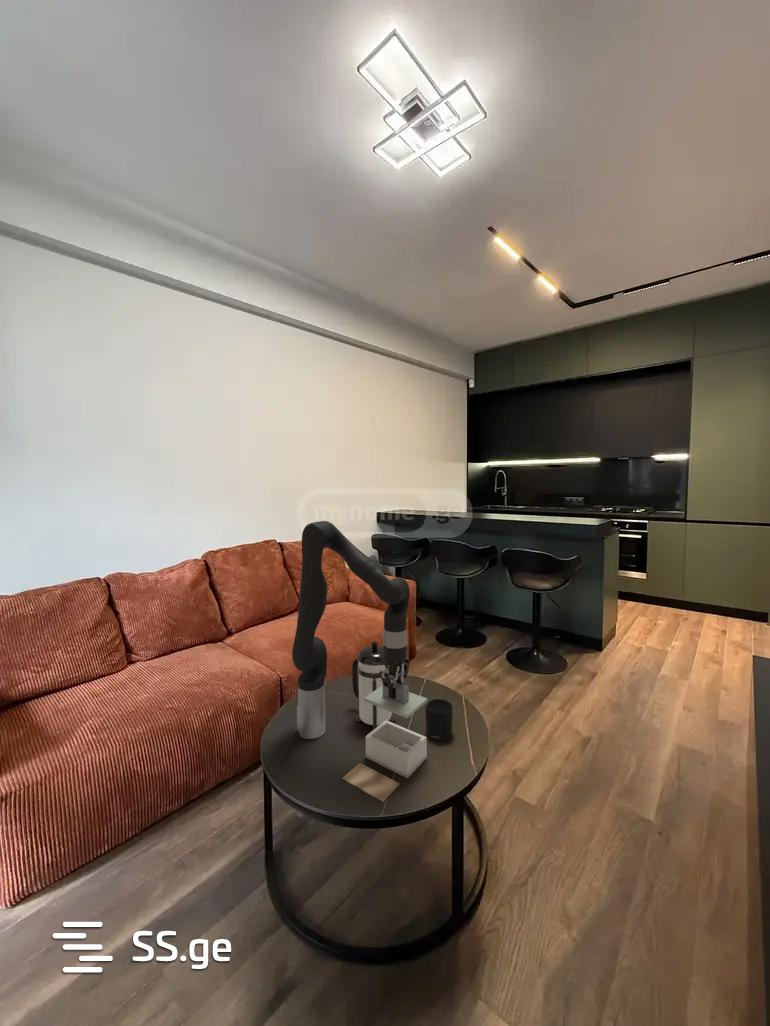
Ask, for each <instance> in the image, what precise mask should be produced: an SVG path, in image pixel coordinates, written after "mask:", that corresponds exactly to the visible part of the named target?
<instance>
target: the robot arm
mask: <svg viewBox="0 0 770 1026" xmlns="http://www.w3.org/2000/svg"><path fill="white" fill-rule="evenodd" d="M324 549H330V550H331V551H333V552H335V553H337V554H338V555H339V556H340V557H341V558H342V559H343V560H344V562H345V564H346V565H347V567H348V569H350V571H351V572H352V573H353V574H354V575H355V576H356V577H357V578H359V579H360V580H362V581H363V582H364V583H366V584H367V585H368V586H369V587H370V588H371V590H372V591H373V593H374V594H375V595H376V596H377V597H378V598H379V600H381V601H382V602H384V603H385V604H387V605H388V607H387V609H386V610H385V611H384V615H383V636H382V637H383V639H382V641H383V642H382V646H383V656H384V658H385V660H386V666H385V668H386V669H385V670H384V671H381V672H380V676H381V679H382V682H383V685H384V687H388V692H389V698H391V699H395V698H396V687H395V686H396V682H397V683H400V684H403V683H404V679H406V678H407V676H408V672H409V668H410V663H411V658H408V631H407V630H408V629H407V623H408V622H407V612H408V610H409V609H408V608H409V601H410V594H411V590H410V586H409V585H410V584H408V581H407V580H405V578H403V577H394V578H392V579H390V578H389V577H387V576H386V575H385V573H386V572H385V569H384V568H383V566H381V565H380V564H378V563H377V562H376V561H374V560H373V559H372V558H370V557H369V556H368V555H366V553H364V552H362V551H361V550H360V549H359V548H358V547H357V546H355V545H354V544H353V543H352V542H351V541H350V540H349V538H347V537H346V536H345V535H344V533H342V532H341V531H340V530H339V529H338V528H337V527H336V526H335V524H333V523H331V522H330V521H328V520H323V521H322V520H320V521H314V522H311V523H308V524H306V526H304V528H303V530H302V534H301V575H300V576H301V577H300V578H301V579H300V587H299V598H298V599H299V600H298V611H297V621H296V622H297V623H296V629H295V633H294V634H295V635H294V639H293V640H294V641H293V646H292V650H291V651H292V653H291V658H292V662H293V665H294V667H295V668H296V669H297V670H298V671H301V673H300V674H299V676H298V678H297V701H298V702H297V703H298V704H297V705H296V728H297V730H296V731H297V732H298V734H299V735H298V736H300V737H301V738H303V739H306V740H314V739H315V740H316V739H318V738H321V737H322V736H323V735H324V734H325V732H326V701H325V700H326V697H325V695H326V693H325V680H326V679H325V678H326V676H327V673H328V672H327V671H328V670H327V668H328V666H327V664H328V662H327V661H328V652H327V646H326V644H325V642H324V641H323V639H322V638H320V637H318V636H315V634H316V631H317V628H318V626H319V623H320V621H321V619H322V617H323V615H324V613H325V611H326V606H327V601H328V583H327V579H326V577H325V575H324V572H323V568H322V559H323V552H324ZM391 675H392V676H391ZM391 680H392V681H393V683H391Z"/></svg>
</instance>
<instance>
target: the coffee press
mask: <svg viewBox="0 0 770 1026" xmlns="http://www.w3.org/2000/svg"><path fill="white" fill-rule="evenodd" d="M356 657H357V658H356V659H354V660H353V662H352V670H351V671H352V690H353V693H354V695H355V697H356V698H357V700H358V703H357V705H358V713H357V715H356V716H355V722H356V723H359V722H360V721H362V722H363V723H364V724H366V725H369V726H372V731H373V730H374V729H376V728H377V727H378V726H379V725H381V724H382V723H383V722H384V721H385V720H387V721H389V722H392V723H395V722H396V720H397V717H396V715H395V713H392V712H390V711H387V710H385V709H382V708H380V707H378V706H375V705H373V704H370V703H368V702H365V701H364V698H365V697H366V696H368V695H369V694H371V693H372V692H374V691H375V690H377V689H378V688H380V687H381V686H382V685H383V682H382V679H381V676H380V672H381V671H384V670H385V669H386V668H385V666H386V660H385V658H384V656H383V645H380V644H379V643H378V642H377V641H372V643H371V645H367V646H364V647H363V648H361V649H360V650H359V652H358V654H357V655H356ZM357 675H358V687H357ZM391 676H392V675H391ZM358 717H359V719H358ZM392 717H393V718H392Z"/></svg>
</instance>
